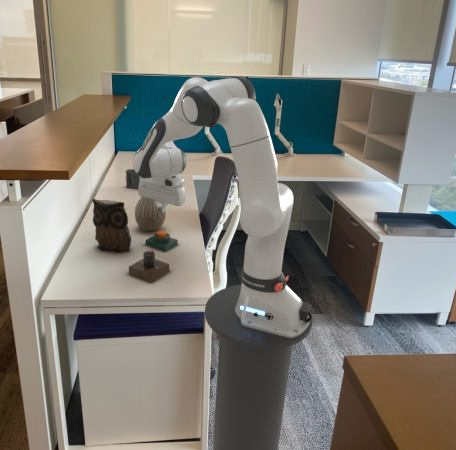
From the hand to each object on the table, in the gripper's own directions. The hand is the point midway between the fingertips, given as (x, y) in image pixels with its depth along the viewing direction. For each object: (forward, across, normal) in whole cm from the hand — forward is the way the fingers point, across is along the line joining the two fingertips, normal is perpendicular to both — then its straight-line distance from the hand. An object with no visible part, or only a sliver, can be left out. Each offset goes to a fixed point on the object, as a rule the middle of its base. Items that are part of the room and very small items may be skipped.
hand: (160, 211), depth 172 cm
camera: (+15, -54, +51) cm, 76 cm away
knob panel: (+14, +11, -21) cm, 28 cm away
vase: (+14, -14, +10) cm, 22 cm away
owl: (+14, -13, -12) cm, 23 cm away
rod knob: (+11, +11, -21) cm, 26 cm away
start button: (+11, 0, 0) cm, 11 cm away
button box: (+14, 0, 0) cm, 14 cm away
